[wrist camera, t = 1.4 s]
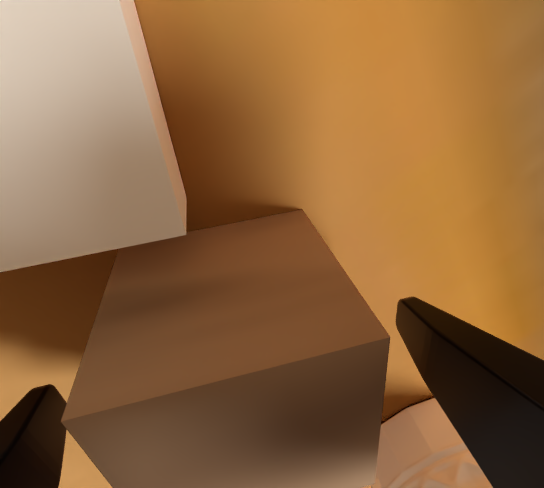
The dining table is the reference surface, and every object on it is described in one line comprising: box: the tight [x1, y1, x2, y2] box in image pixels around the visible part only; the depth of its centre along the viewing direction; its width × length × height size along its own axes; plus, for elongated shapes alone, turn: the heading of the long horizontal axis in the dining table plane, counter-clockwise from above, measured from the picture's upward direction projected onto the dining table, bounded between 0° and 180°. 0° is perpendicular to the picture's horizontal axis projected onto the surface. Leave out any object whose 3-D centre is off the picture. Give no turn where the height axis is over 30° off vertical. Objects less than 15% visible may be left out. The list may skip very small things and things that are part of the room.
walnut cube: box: [61, 209, 390, 488], centre depth 8 cm, size 5×5×5 cm
